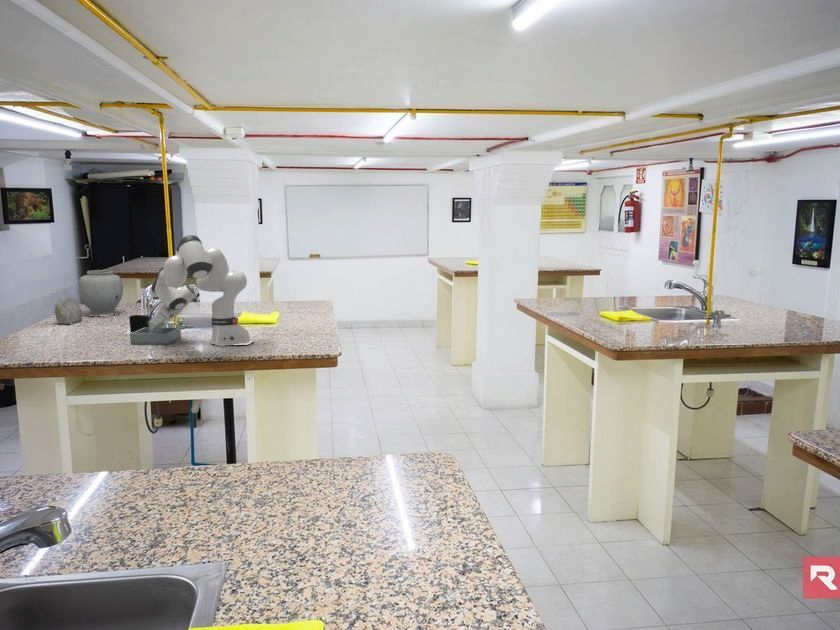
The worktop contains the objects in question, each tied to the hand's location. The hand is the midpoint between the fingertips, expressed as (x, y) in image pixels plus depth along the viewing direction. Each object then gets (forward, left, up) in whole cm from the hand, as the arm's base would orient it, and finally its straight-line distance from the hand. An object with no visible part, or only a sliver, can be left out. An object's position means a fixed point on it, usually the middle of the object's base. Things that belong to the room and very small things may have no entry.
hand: (154, 327), depth 348 cm
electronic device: (+19, -25, -8) cm, 33 cm away
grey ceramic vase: (+71, -85, -8) cm, 111 cm away
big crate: (-1, 0, -8) cm, 8 cm away
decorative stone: (+76, -55, -8) cm, 95 cm away
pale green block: (-1, 0, -5) cm, 5 cm away
